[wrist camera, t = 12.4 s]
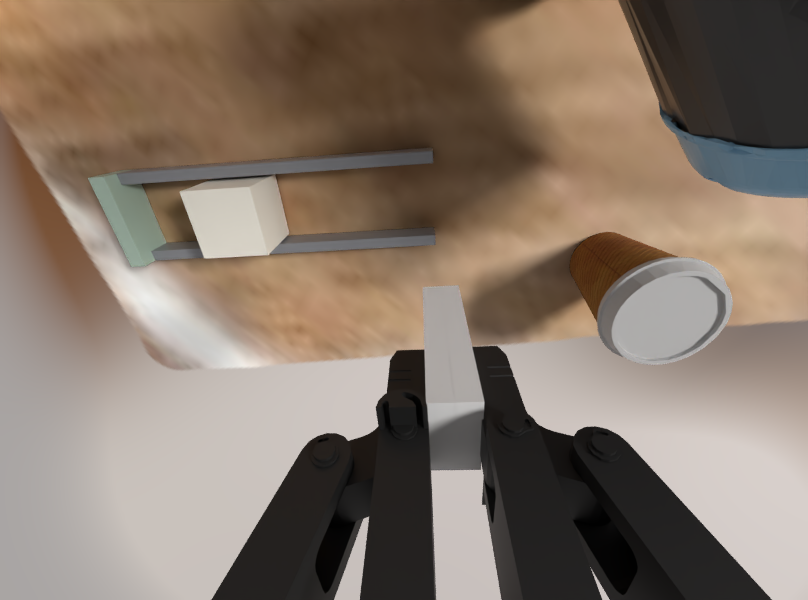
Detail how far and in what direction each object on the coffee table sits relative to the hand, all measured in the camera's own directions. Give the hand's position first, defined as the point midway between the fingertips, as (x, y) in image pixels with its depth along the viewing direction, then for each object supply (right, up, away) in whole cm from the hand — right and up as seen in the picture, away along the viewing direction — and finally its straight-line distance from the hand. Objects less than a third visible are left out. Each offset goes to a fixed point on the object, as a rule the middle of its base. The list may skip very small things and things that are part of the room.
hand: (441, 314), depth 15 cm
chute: (-13, +10, +20) cm, 26 cm away
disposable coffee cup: (+19, +5, +22) cm, 30 cm away
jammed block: (-17, +10, +21) cm, 29 cm away
